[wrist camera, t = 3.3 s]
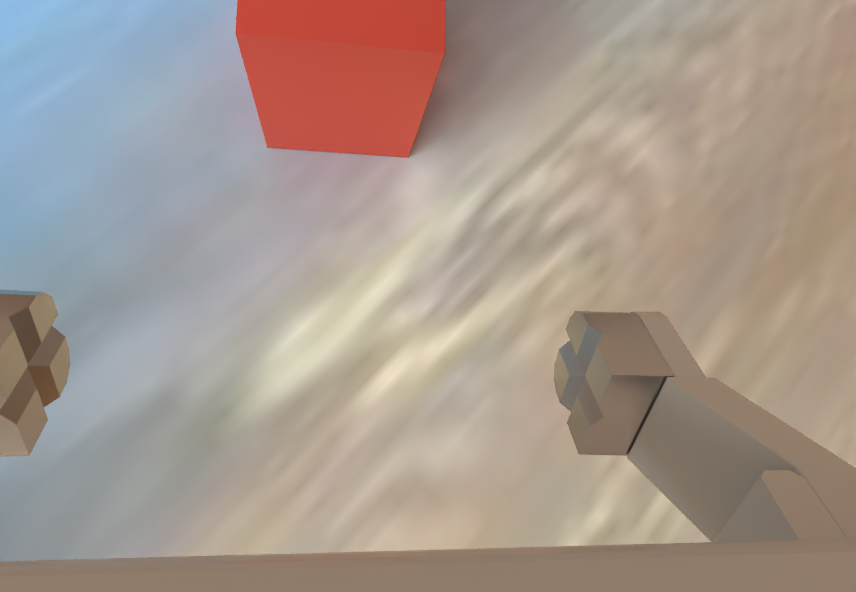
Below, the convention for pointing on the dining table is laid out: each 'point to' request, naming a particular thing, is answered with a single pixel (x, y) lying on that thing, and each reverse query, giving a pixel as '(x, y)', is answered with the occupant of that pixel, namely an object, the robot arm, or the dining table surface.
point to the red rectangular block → (341, 71)
